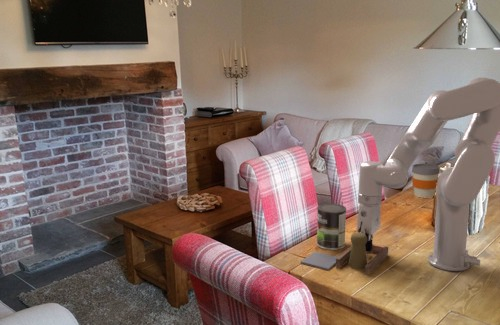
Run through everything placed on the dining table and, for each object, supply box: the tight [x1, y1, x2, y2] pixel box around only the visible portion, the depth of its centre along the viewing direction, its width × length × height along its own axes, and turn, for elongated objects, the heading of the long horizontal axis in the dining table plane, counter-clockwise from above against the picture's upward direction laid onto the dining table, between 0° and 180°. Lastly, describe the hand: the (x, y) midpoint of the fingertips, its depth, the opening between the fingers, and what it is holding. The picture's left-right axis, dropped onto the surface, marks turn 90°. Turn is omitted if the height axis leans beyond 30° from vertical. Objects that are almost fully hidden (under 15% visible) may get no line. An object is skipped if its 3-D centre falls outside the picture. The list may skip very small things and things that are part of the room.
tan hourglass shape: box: [348, 231, 368, 271], centre depth 147 cm, size 6×6×11 cm
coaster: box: [300, 251, 338, 271], centre depth 152 cm, size 10×10×1 cm
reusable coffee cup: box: [411, 163, 440, 198], centre depth 221 cm, size 12×13×15 cm
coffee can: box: [316, 203, 347, 251], centre depth 164 cm, size 10×10×14 cm
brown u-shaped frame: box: [335, 243, 389, 276], centre depth 151 cm, size 11×18×3 cm, turn 145°
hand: (366, 250), depth 155 cm, fingers closed
